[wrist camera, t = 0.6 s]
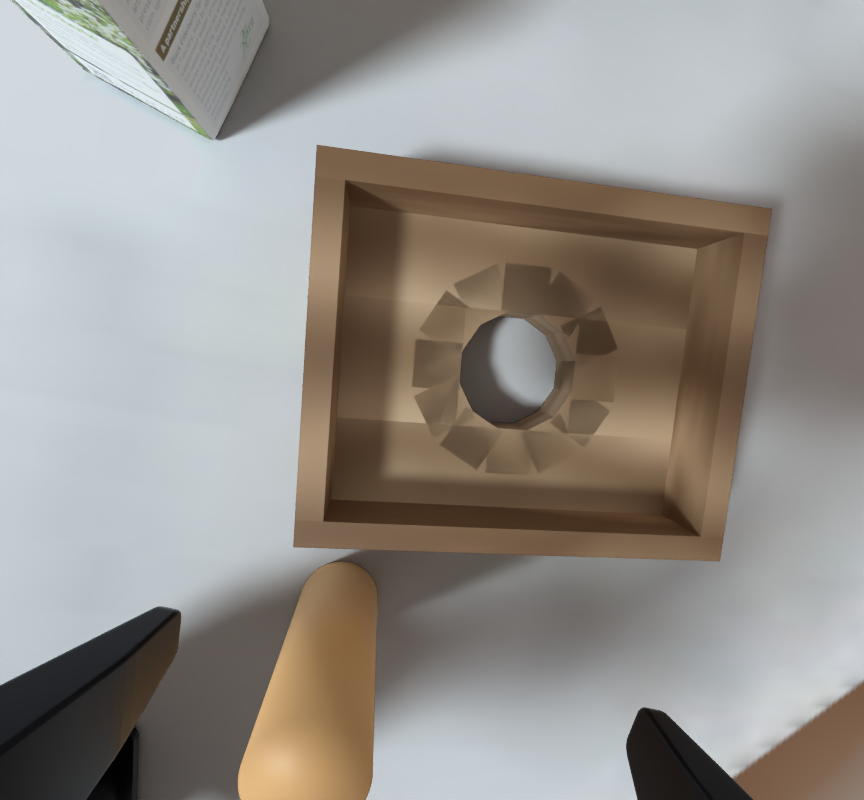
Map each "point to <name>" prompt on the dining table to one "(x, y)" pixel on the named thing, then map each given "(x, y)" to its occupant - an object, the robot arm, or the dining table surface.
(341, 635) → the peg
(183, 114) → the syrup box
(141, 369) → the dining table surface
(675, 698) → the dining table surface
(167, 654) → the robot arm
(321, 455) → the crate
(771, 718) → the dining table surface
